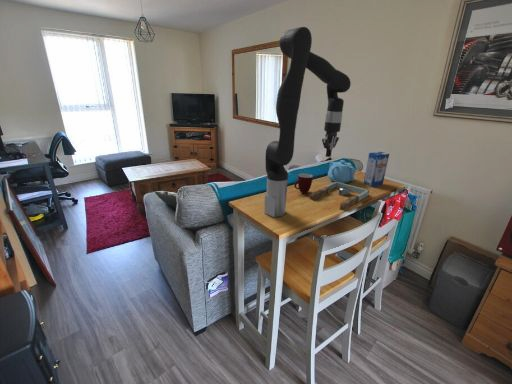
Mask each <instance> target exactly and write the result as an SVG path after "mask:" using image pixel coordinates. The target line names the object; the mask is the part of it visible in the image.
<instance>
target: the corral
mask: <svg viewBox="0 0 512 384" xmlns="http://www.w3.org/2000/svg"><path fill="white" fill-rule="evenodd" d="M325 187H328V188H329V191H331V190H333V189H335V188H338V189H339V188H340V187H348V188H350V189H351V190H350V192H353V193H356V194H358V195H357V196H358V200H357V202H361V201H362V200H364V199H366V197H368V196H369V194H370V190H369V189H366V188H363V187H359V186H354V185H350V184H347V183H340V182H335V181H333V182H331V183H329V184H327V185H325V186H324V188H325Z"/></svg>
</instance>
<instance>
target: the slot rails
mask: <svg viewBox="0 0 512 384" xmlns="http://www.w3.org/2000/svg"><path fill="white" fill-rule="evenodd" d="M329 191H330V190H329V188H328V187H325V186H324V187H323V188H321V189H318V190H316V191H314V192H312V193H310V197H309V200H312V201H315V200H317V199H319V198H320V197H323V196H325V195H327V194H328V193H329ZM357 200H358V195H356V194H354V195H353V196H350V197H349V198H348V199H346V200H344V201H342V202H340V205H339V210H342V211H344V210H346V209H348V208H350V207H351V206H352V205H354V204H356V203H357V202H358V201H357Z"/></svg>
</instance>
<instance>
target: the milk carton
mask: <svg viewBox="0 0 512 384" xmlns="http://www.w3.org/2000/svg"><path fill="white" fill-rule="evenodd" d="M389 157H390V153H387V152H382V151H375V152H369V153H368V158H367V162H366V163H367V164H366V169H365V175H364V180H363V185H365V186H367V185H368V187H370V188H373V187H378V186H379V187H381V186H383V185H384V181H385V176H386V171H387V167H388V161H389V159H390V158H389Z"/></svg>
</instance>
